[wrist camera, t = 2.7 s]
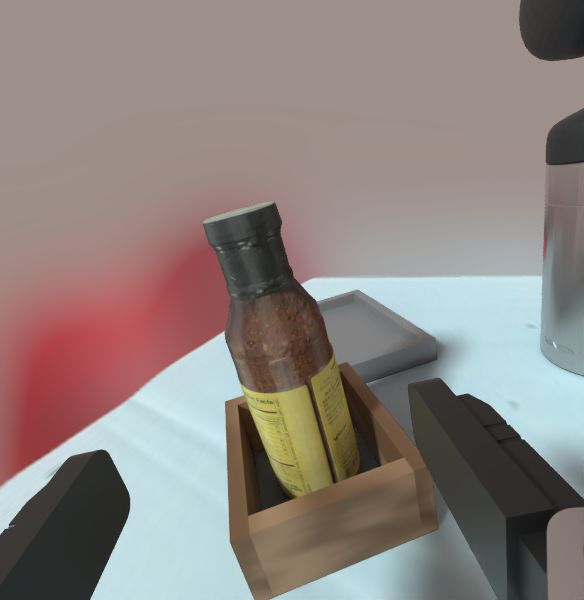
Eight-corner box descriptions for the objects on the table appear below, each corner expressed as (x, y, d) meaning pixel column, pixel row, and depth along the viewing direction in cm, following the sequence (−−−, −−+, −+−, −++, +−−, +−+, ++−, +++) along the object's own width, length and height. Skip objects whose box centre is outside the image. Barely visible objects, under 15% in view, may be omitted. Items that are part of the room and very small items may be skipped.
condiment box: (356, 407, 30) (347, 361, 29) (437, 529, 19) (430, 464, 17) (241, 447, 29) (225, 401, 27) (256, 604, 18) (230, 542, 16)
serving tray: (360, 303, 53) (357, 289, 52) (437, 359, 34) (435, 338, 34) (241, 339, 51) (236, 325, 50) (254, 420, 32) (247, 400, 31)
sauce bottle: (337, 435, 28) (282, 196, 21) (382, 490, 22) (327, 189, 16) (266, 471, 26) (182, 221, 19) (296, 542, 20) (191, 224, 14)
